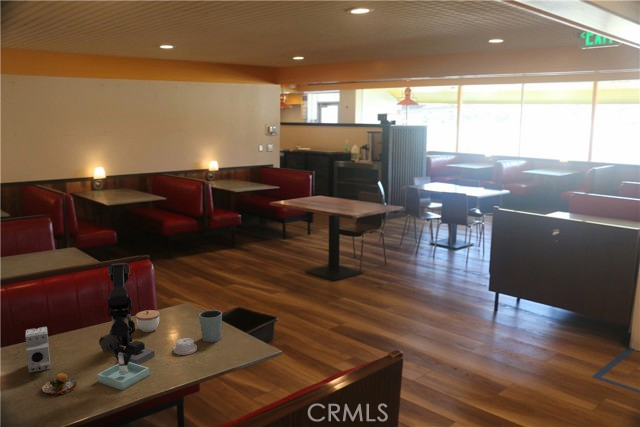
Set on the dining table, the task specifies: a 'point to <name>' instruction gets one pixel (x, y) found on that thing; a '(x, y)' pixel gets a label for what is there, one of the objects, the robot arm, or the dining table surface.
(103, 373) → the parts tray
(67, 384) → the plate of food
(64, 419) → the dining table surface
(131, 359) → the socket block
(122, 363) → the cylinder
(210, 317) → the blue-grey cup
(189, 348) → the mechanical component
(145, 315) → the lidded jar
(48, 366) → the circuit breaker
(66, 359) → the dining table surface
